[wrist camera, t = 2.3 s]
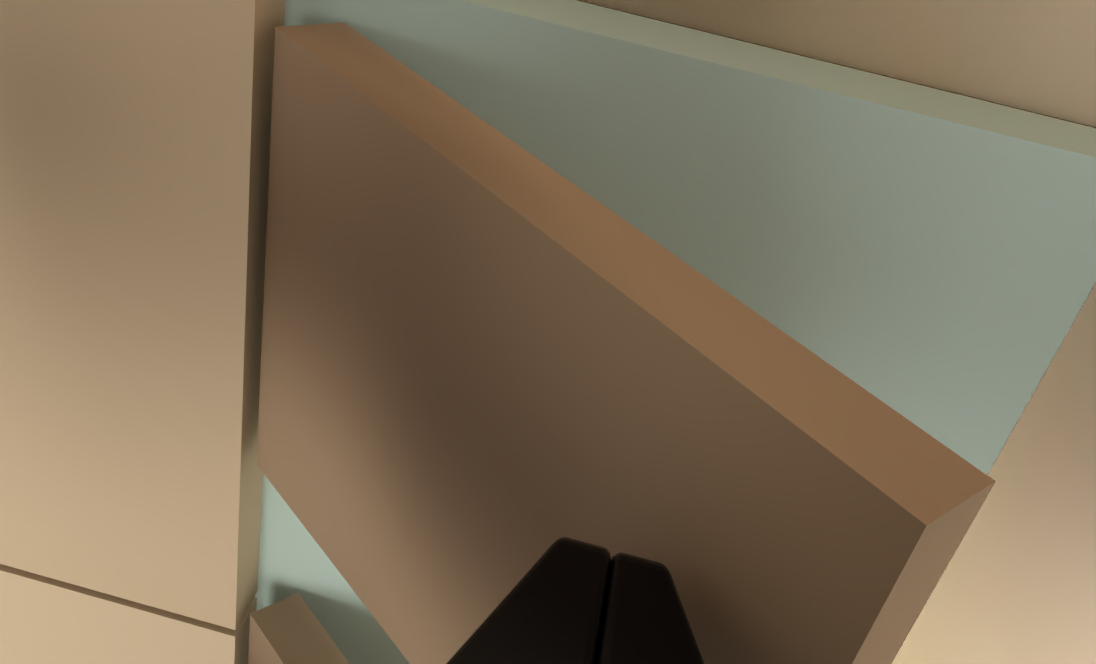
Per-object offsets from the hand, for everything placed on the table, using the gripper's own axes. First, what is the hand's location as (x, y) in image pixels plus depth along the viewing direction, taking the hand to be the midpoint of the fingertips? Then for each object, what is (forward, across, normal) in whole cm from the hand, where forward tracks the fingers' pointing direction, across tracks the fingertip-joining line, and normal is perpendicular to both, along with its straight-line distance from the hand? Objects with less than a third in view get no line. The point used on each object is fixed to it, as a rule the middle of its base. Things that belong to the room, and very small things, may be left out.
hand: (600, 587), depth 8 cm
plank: (+2, +1, +1) cm, 3 cm away
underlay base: (+6, +2, +6) cm, 9 cm away
